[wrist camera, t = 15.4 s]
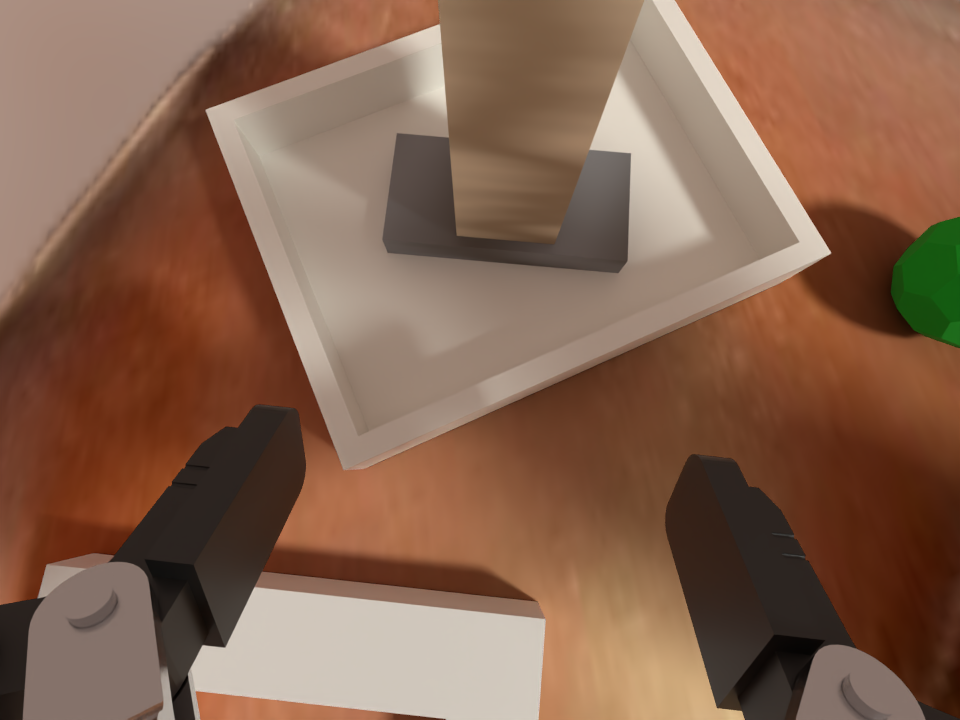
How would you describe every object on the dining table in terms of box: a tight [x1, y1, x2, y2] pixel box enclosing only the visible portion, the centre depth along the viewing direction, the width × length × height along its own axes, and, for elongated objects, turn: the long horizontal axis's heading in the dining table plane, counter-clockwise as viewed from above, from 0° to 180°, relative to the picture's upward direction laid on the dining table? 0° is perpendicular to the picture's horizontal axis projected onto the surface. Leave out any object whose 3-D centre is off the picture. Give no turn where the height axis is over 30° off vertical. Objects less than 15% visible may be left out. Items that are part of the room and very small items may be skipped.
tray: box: [206, 0, 831, 470], centre depth 19 cm, size 18×14×3 cm
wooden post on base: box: [382, 0, 644, 273], centre depth 14 cm, size 9×4×12 cm, turn 85°
